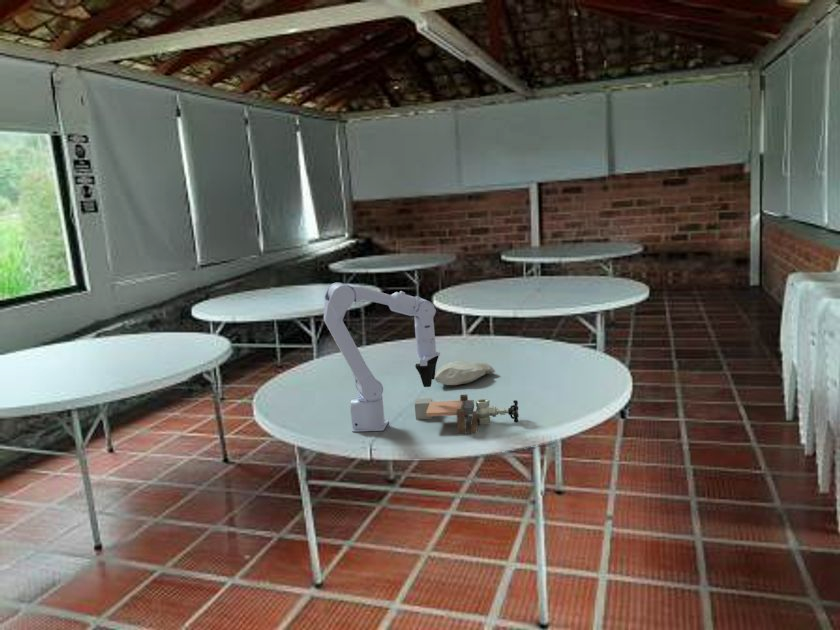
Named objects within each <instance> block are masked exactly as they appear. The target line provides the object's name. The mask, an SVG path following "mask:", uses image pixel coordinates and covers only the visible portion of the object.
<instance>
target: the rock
mask: <svg viewBox="0 0 840 630" xmlns="http://www.w3.org/2000/svg"><path fill="white" fill-rule="evenodd" d="M494 373H496V371H495V369H494V367H493V366H492V365H491V364H489V363H487V362H480V361H479V362H477V361H468V360H463V359H461V360H455V361H451V362H447V363H445V364H444V365H442V366H440V368H438V370H436V372H435V378H434V380H435V382H437V383H438V384H442V385H446V386H458V385H463V384H464V385H465V384H466V385H467V384H470V383H472V382H474V381H476V380H478V379H480V378H481V377H482V376H485V375H486V374H494Z"/></svg>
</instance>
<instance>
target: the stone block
mask: <svg viewBox="0 0 840 630" xmlns="http://www.w3.org/2000/svg"><path fill="white" fill-rule="evenodd" d="M430 402H433V398H432V397H430V398H427V397H426V398H425V397H424V398H416V399H415V402H414V411H415V412H414V413H415V420H432V419H433V416H426V412H427V409H428V406H429V404H430Z"/></svg>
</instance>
